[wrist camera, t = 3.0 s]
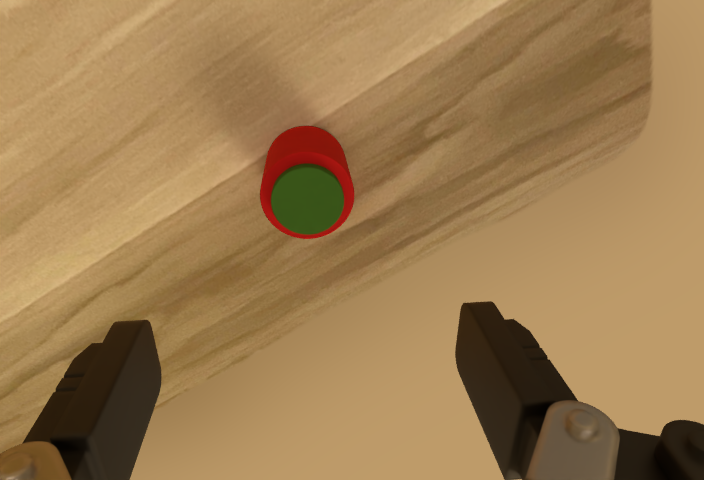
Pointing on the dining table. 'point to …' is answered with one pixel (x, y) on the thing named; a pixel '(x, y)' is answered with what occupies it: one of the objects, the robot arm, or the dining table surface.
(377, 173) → the dining table surface
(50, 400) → the robot arm
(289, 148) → the green-capped red cylinder
